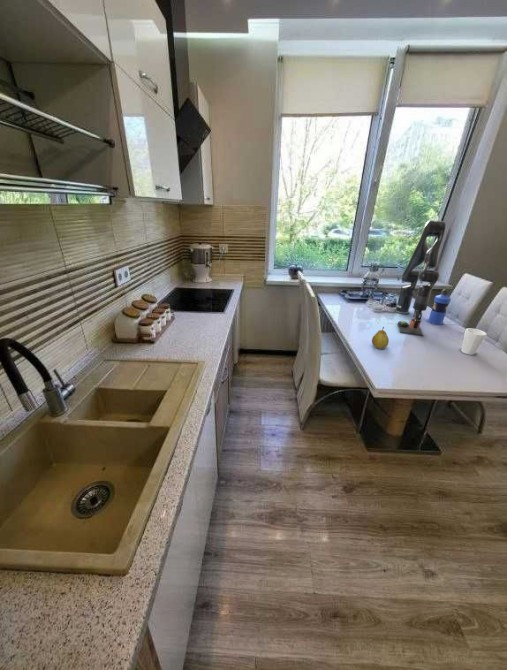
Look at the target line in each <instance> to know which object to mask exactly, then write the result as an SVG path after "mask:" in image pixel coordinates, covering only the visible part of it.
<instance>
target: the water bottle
mask: <svg viewBox="0 0 507 670" xmlns="http://www.w3.org/2000/svg"><path fill="white" fill-rule="evenodd" d="M451 300H452V298H451V297H450V296H449V289H448V288H443V289H442V290H441V292H440V294H438V295H435V296H434V299H433V306H432V308H431V310H430V313H429V317H428V319H427V322H428V323H429V324H432V325H436V326H437V325H438V326H441V325H443V322H444V320H445V317H446V314H447V310H448V307H449V305H450V303H451Z"/></svg>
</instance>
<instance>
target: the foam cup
mask: <svg viewBox="0 0 507 670" xmlns="http://www.w3.org/2000/svg"><path fill="white" fill-rule="evenodd" d="M487 335H488V334H487V332H486V331H484V330H481V329H477V328H471V327H469V328H465V331H464V336H463V341H462V344H461V352H462V353H464V354H466V355H469V356H472V355H475V354H476V353H477V351H478V350H479V348H480V346H481V345H482V343H483V341H484V340H485V339H486V337H487Z"/></svg>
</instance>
